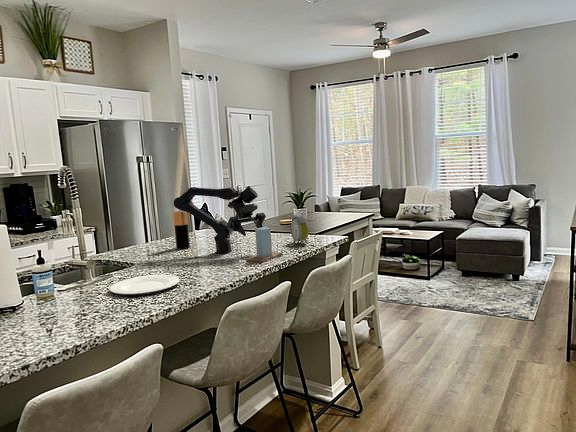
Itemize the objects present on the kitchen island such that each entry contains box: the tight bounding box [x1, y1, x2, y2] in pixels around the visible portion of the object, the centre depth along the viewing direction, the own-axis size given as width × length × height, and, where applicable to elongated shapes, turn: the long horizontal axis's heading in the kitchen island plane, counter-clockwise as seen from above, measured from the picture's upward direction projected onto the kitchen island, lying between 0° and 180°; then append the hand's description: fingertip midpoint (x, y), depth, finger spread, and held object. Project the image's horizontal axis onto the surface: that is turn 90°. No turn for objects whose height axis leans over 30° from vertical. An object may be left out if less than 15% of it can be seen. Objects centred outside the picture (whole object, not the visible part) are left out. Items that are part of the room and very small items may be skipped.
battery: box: [172, 210, 191, 250], centre depth 241 cm, size 7×7×20 cm
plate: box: [108, 274, 181, 296], centre depth 168 cm, size 25×25×2 cm
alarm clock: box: [290, 213, 310, 246], centre depth 237 cm, size 12×7×15 cm, turn 25°
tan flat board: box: [245, 251, 283, 264], centre depth 206 cm, size 16×9×1 cm, turn 147°
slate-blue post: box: [254, 226, 273, 257], centre depth 205 cm, size 5×5×12 cm
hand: (254, 234), depth 212 cm, fingers open, 9 cm apart
